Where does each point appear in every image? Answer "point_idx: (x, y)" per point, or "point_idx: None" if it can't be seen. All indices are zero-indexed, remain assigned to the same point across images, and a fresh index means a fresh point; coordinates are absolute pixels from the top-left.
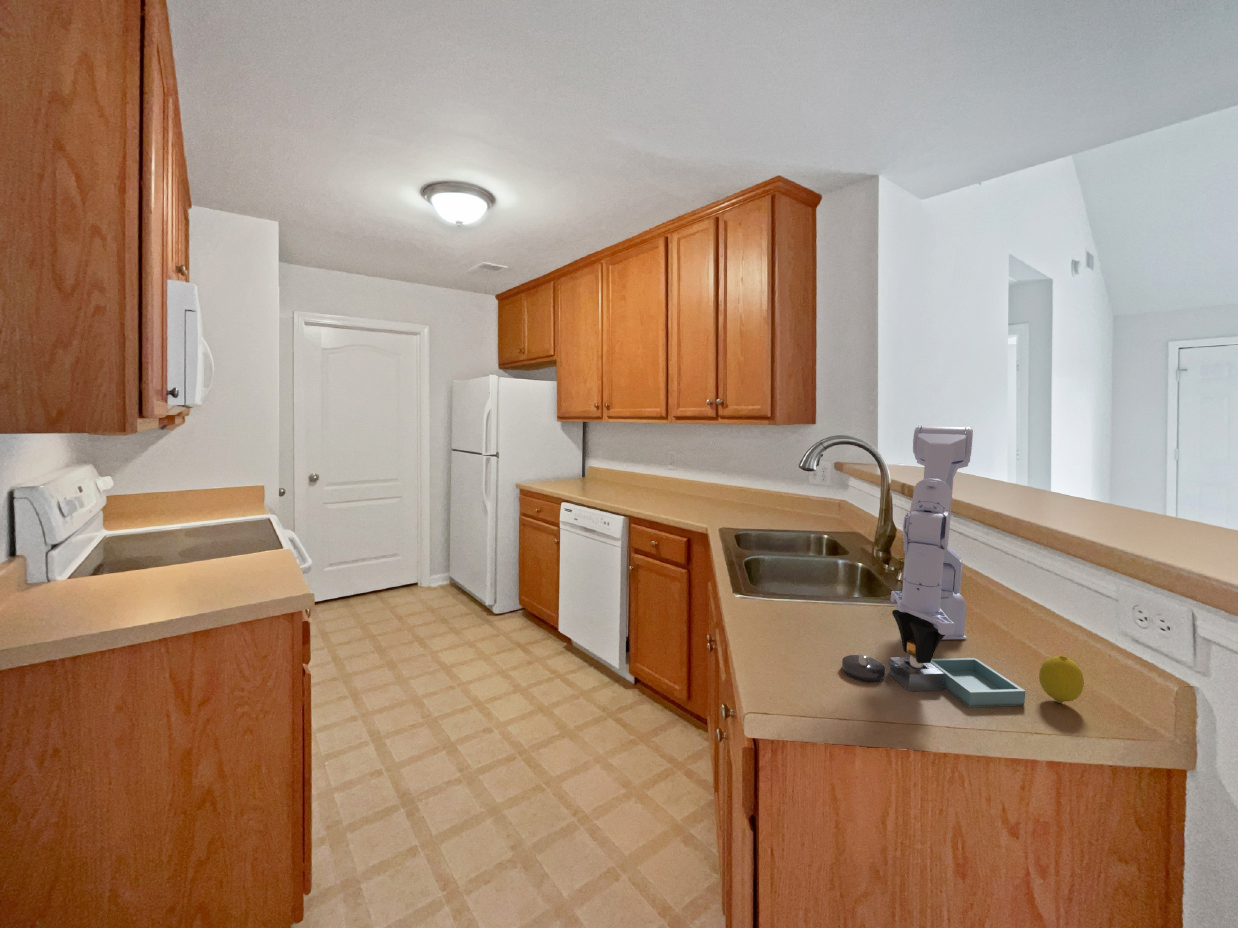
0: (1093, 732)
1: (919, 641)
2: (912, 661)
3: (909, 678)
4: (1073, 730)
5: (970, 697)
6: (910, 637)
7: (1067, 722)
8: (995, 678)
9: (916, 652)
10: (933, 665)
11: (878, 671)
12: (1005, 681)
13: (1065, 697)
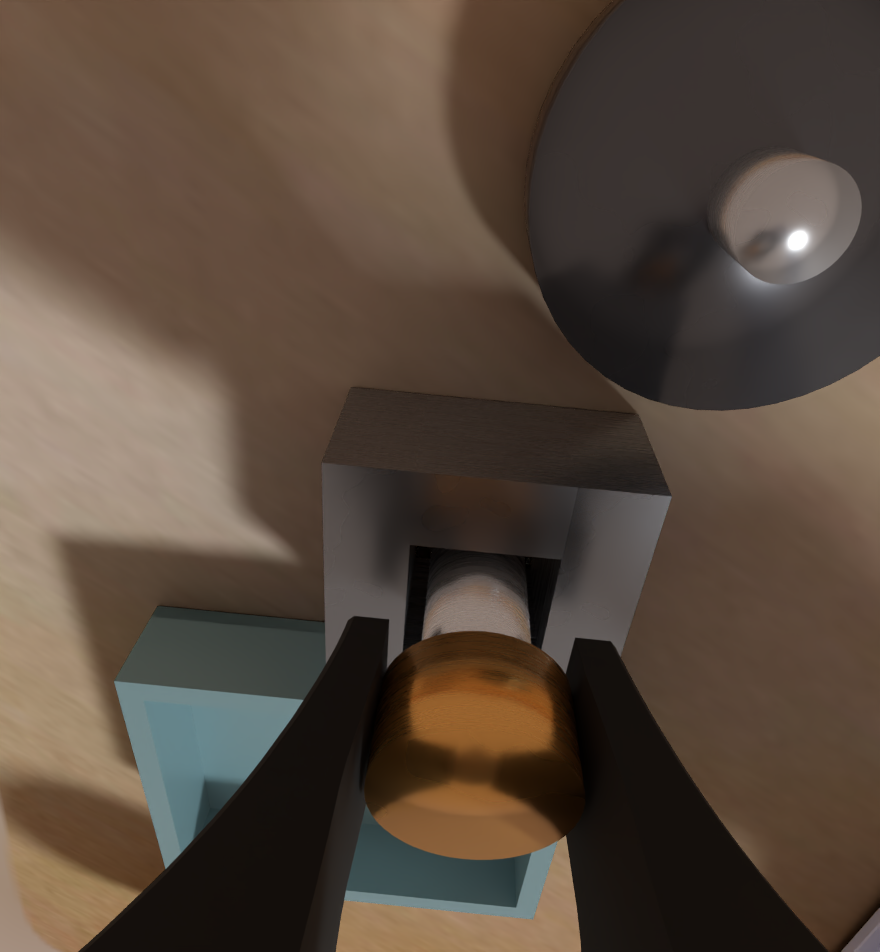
0: (22, 854)
1: (203, 832)
2: (460, 600)
3: (331, 440)
4: (20, 818)
5: (131, 653)
6: (594, 820)
7: (80, 837)
8: (354, 860)
9: (352, 684)
10: None
11: (566, 269)
12: None
13: None
